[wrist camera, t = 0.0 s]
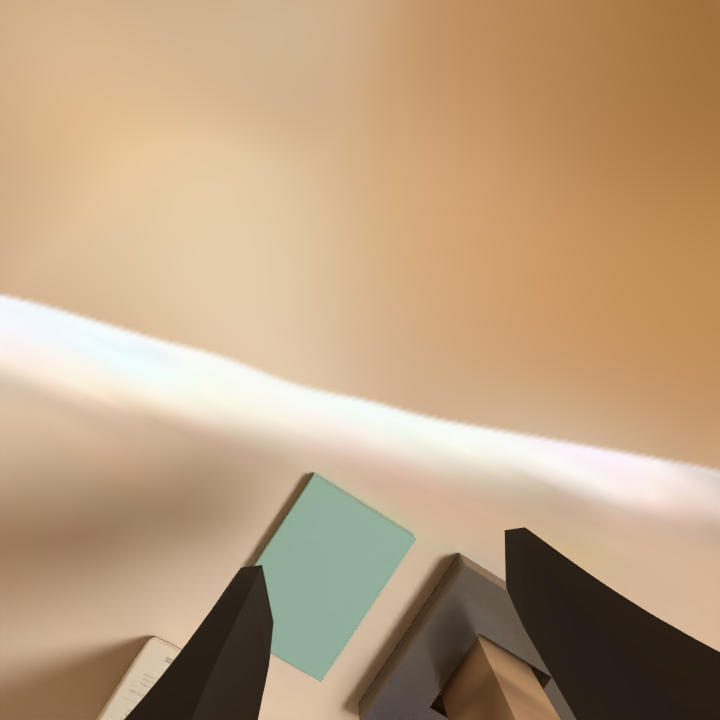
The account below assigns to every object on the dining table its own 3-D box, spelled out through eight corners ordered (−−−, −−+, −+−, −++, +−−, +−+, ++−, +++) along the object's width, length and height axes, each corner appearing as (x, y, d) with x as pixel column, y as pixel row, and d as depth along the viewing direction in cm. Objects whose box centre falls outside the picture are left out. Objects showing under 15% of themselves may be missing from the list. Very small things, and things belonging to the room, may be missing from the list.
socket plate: (505, 788, 22) (514, 814, 21) (359, 703, 22) (359, 724, 20) (603, 643, 22) (618, 660, 21) (459, 553, 22) (465, 565, 20)
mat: (321, 672, 21) (321, 681, 21) (221, 614, 21) (217, 622, 20) (413, 534, 21) (415, 539, 21) (314, 472, 21) (313, 476, 20)
